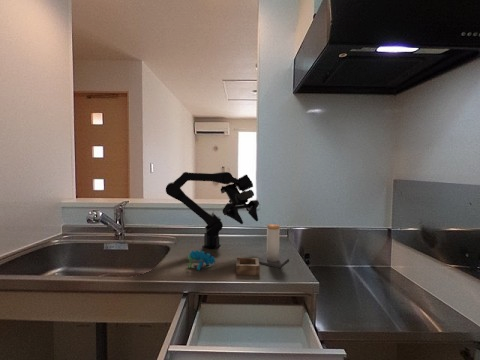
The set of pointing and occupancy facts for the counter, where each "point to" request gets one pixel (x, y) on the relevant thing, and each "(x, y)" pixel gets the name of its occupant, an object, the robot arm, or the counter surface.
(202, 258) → the blue lumpy piece
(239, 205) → the robot arm
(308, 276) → the counter surface
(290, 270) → the counter surface
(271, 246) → the plug
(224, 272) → the counter surface
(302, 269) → the counter surface
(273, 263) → the mat
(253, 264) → the socket block
